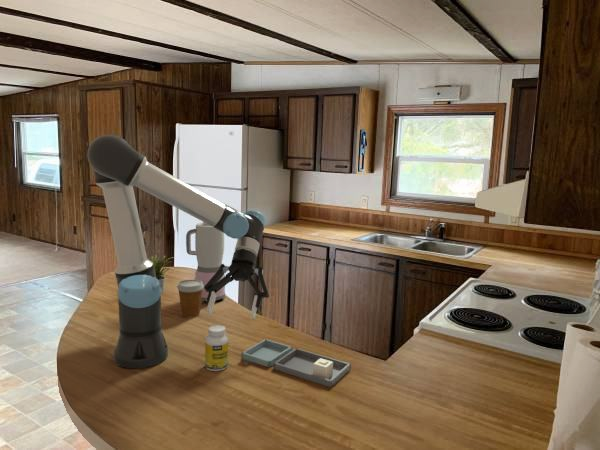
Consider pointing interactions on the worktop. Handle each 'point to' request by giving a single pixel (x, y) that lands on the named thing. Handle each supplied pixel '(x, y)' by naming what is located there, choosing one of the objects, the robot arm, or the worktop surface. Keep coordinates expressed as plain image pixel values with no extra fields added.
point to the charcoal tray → (310, 366)
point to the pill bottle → (216, 349)
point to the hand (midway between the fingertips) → (230, 315)
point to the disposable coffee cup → (190, 297)
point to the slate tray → (265, 353)
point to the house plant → (157, 268)
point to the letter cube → (323, 368)
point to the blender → (207, 255)
